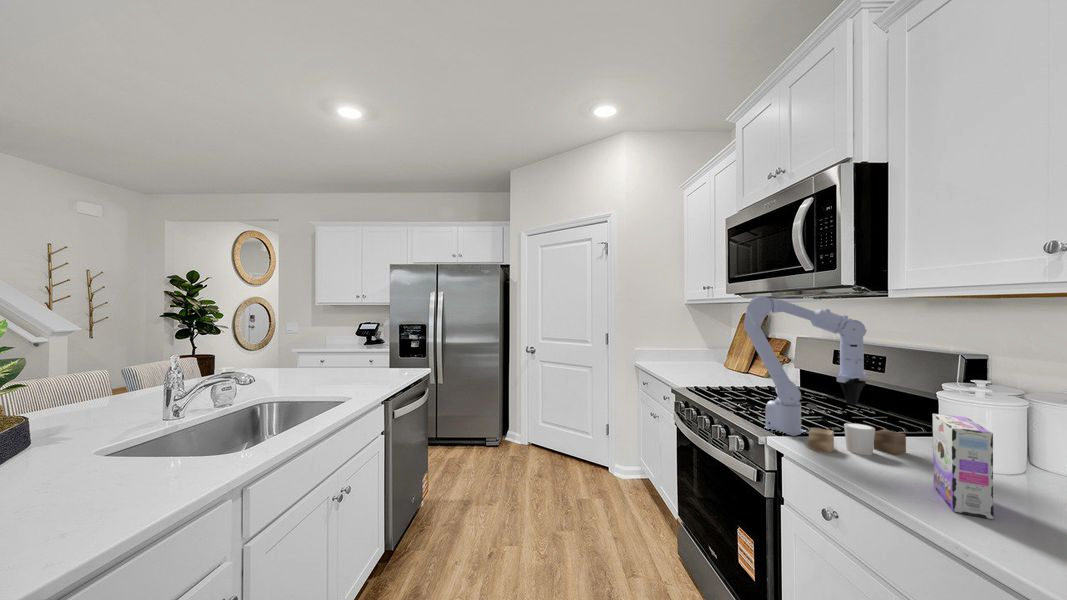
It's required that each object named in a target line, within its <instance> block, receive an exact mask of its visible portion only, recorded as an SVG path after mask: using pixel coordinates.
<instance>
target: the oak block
mask: <svg viewBox="0 0 1067 600" xmlns="http://www.w3.org/2000/svg"><path fill="white" fill-rule="evenodd" d="M834 436H835V432H834V430H830V429H824V428H820V427H819V428H818V427H811V429H809V431H808V450H813V451H817V452H818V451H819V452H822V453H827V452H828V454H831V453H832V452H833V451H832V450H834V449H835V440H834V439H835V437H834Z"/></svg>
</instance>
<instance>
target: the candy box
mask: <svg viewBox="0 0 1067 600" xmlns="http://www.w3.org/2000/svg"><path fill="white" fill-rule="evenodd" d="M931 420H932V421H931V422H932V451H933V452H932V454H933V455H932V456H933V462H932V463H933V487H934V490H936V491H937V493H938V494H939V495H940V496H941V498H942V499H943V500H944V501H945V503H946V504H947V506H948V507H949V508H950V509H951V510H952V511H953V512H954V513H955V512H956V513H960V514H964V515H969V516H975V517H978V518H979V517H980V518H983V519H989V520H995V519H994V518H995V517H994V515H995V514H994V509H995V508H994V433H993V432H991V431H989V430H988V429H986V428H984V427H983V426H981V424H978V423H976V422H975V421H973V420H972V419H970V418H969V417H966V416H958V415H957V416H956V415H950V414H949V415H948V414H938V413H932V419H931Z"/></svg>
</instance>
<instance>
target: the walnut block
mask: <svg viewBox="0 0 1067 600" xmlns="http://www.w3.org/2000/svg"><path fill="white" fill-rule="evenodd" d="M873 450H877V451H879V452H884V453H886V454H889V455H893V456H897V455H901V454H902V455H903V454H906V453H907V435H906V434H904V433H900V432H896V431H892V430H889V429H881V430H880V429H879V430H875V436H874V445H873Z"/></svg>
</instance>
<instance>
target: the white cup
mask: <svg viewBox="0 0 1067 600" xmlns="http://www.w3.org/2000/svg"><path fill="white" fill-rule="evenodd" d="M843 428H844V436H845V446H846V451H848V452H849V453H852V454H855V455H862V456H872V455H873V453H874V436H875V431H876V428H875V427H873V426H872V425H871V426H870V425H867V424H862V423H856V422H854V423H853V422H846V423H844V424H843Z"/></svg>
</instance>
